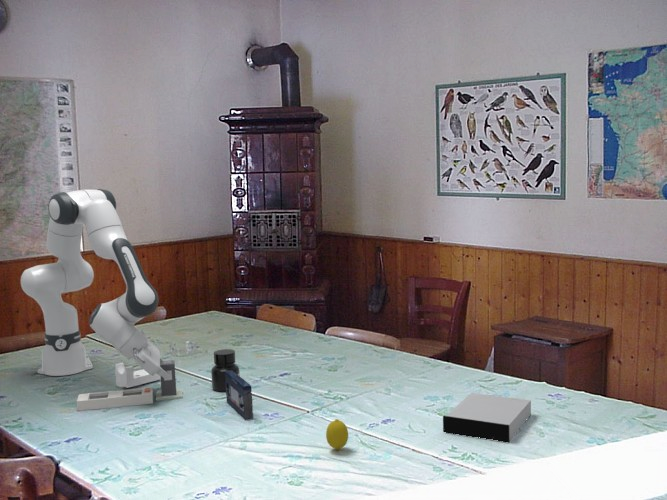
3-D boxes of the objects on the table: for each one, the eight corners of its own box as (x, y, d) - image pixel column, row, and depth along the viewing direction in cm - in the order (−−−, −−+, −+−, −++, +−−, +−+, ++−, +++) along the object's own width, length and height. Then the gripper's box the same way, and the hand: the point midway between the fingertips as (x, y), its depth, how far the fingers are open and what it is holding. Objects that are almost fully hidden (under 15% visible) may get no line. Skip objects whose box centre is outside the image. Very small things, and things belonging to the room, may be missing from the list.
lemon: (325, 446, 195) (324, 416, 194) (347, 445, 195) (346, 415, 194) (327, 455, 189) (326, 424, 188) (349, 453, 190) (348, 422, 189)
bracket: (127, 390, 248) (125, 368, 247) (116, 386, 253) (114, 364, 252) (162, 381, 257) (160, 359, 256) (150, 377, 262) (149, 356, 261)
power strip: (77, 410, 229) (76, 399, 228) (79, 403, 235) (79, 392, 235) (152, 403, 233) (152, 392, 233) (153, 396, 240) (152, 385, 240)
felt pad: (156, 392, 244) (156, 391, 244) (181, 390, 245) (181, 388, 245) (156, 400, 236) (156, 398, 236) (182, 398, 238) (182, 396, 237)
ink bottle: (246, 387, 246) (244, 351, 245) (225, 394, 240) (223, 357, 238) (227, 382, 253) (225, 346, 251) (205, 388, 246) (203, 352, 245)
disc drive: (443, 434, 202) (442, 416, 201) (470, 408, 221) (470, 391, 220) (508, 445, 193) (508, 425, 192) (531, 416, 213) (531, 399, 212)
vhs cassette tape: (226, 402, 232) (224, 370, 231) (235, 401, 233) (233, 369, 232) (243, 421, 216) (241, 387, 214) (253, 419, 217) (251, 385, 215)
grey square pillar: (161, 392, 242) (159, 361, 241) (176, 390, 243) (174, 360, 242) (161, 396, 238) (159, 365, 237) (176, 395, 239) (174, 363, 238)
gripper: (140, 345, 227) (175, 374, 230) (141, 330, 246) (174, 357, 250) (125, 361, 226) (161, 390, 230) (128, 344, 246) (161, 371, 250)
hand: (168, 373), depth 240 cm, fingers open, 8 cm apart
